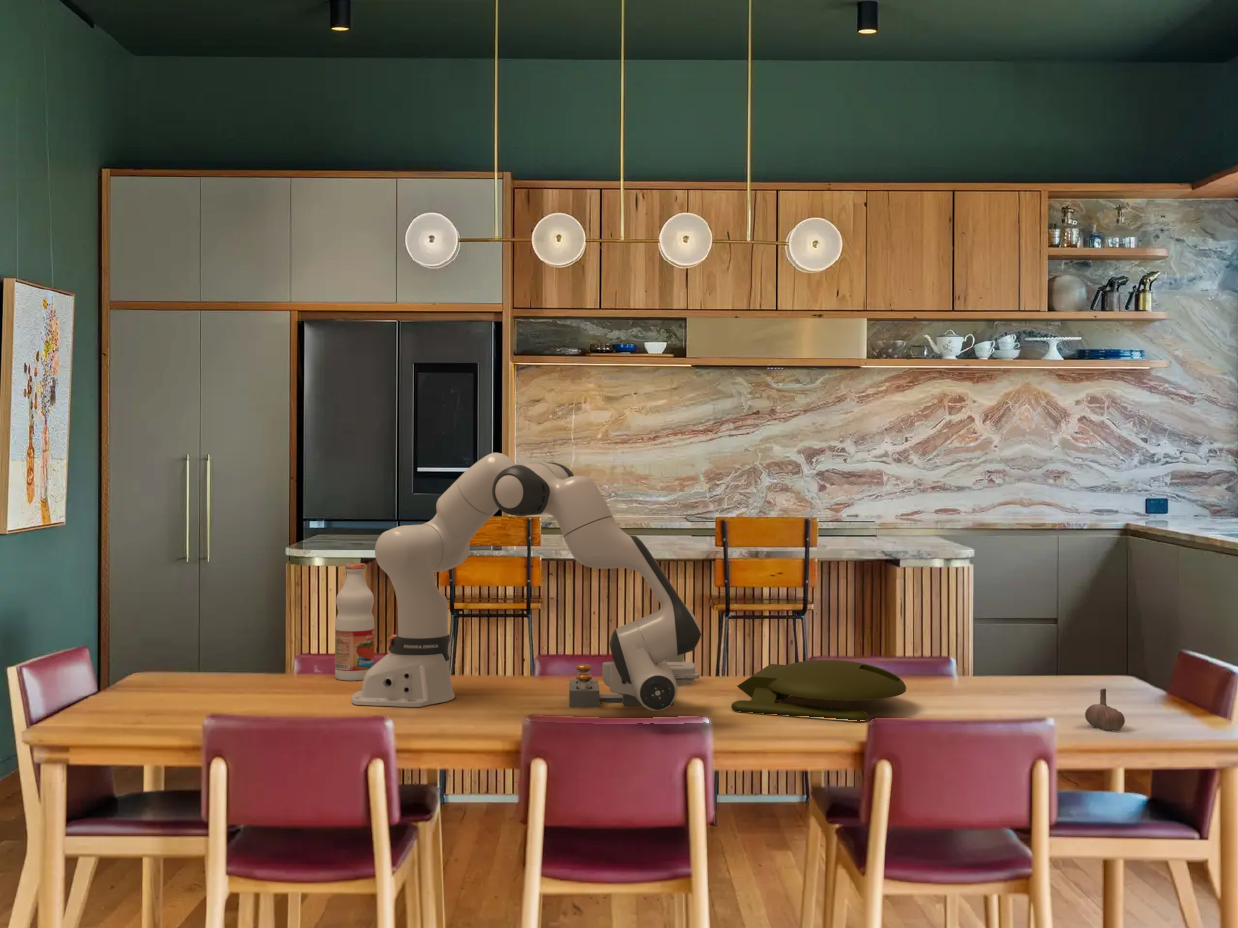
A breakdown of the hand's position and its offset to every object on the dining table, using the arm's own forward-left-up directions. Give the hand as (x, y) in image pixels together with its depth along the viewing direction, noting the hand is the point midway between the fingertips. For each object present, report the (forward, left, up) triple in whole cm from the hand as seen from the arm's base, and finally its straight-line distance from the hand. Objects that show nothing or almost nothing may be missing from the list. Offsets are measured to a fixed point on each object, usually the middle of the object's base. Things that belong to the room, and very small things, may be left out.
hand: (646, 665), depth 244 cm
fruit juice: (-70, +30, -8) cm, 77 cm away
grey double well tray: (-6, +1, -8) cm, 10 cm away
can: (+6, +21, -8) cm, 24 cm away
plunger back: (-14, +4, -6) cm, 16 cm away
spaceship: (+39, -4, -9) cm, 40 cm away
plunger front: (-14, -2, -7) cm, 16 cm away
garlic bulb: (+90, -28, -8) cm, 95 cm away
